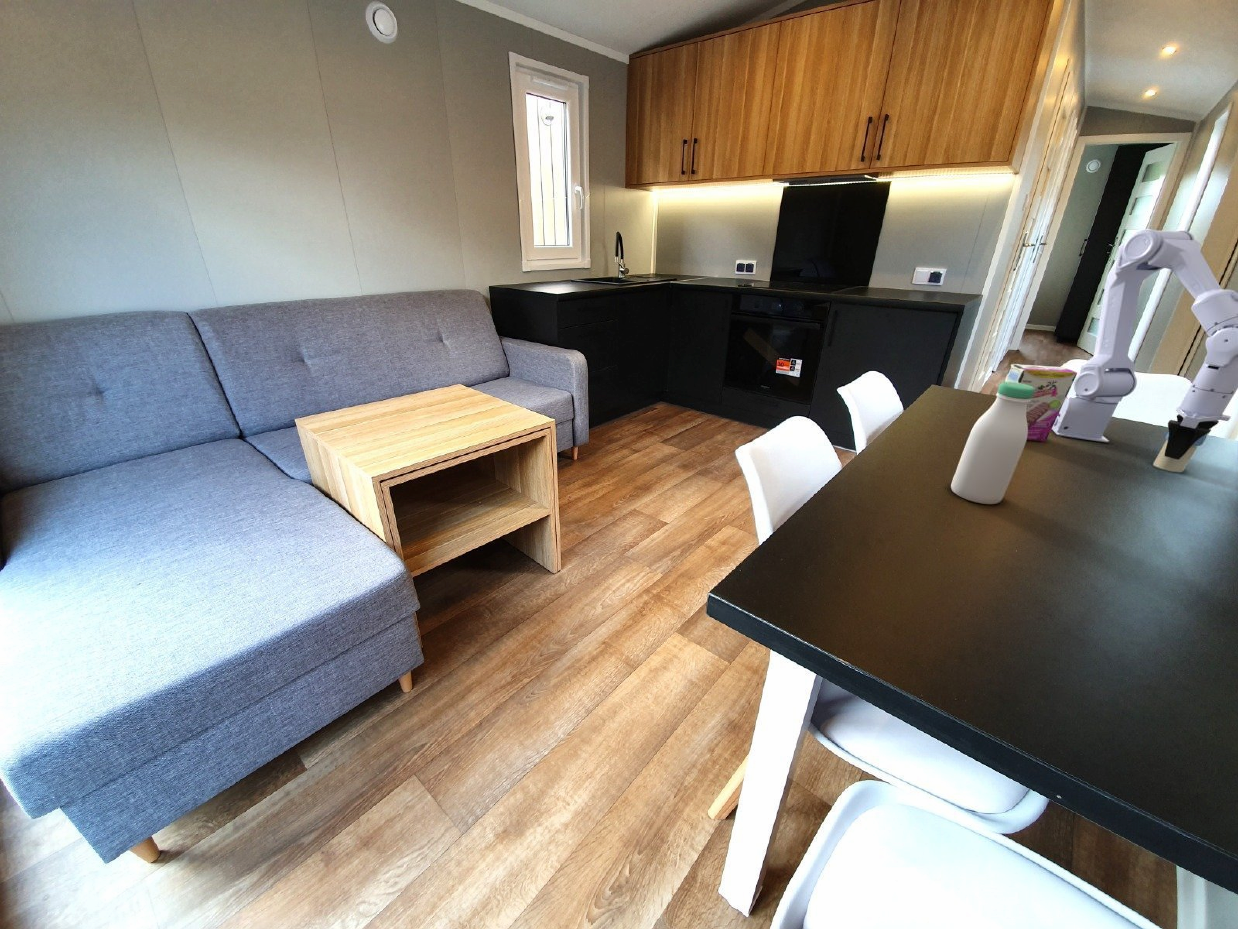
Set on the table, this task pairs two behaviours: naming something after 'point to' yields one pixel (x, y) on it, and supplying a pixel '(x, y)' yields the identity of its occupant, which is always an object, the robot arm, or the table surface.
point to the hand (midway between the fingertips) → (1175, 454)
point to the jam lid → (1197, 443)
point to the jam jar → (1173, 460)
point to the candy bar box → (1042, 395)
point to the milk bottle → (994, 446)
